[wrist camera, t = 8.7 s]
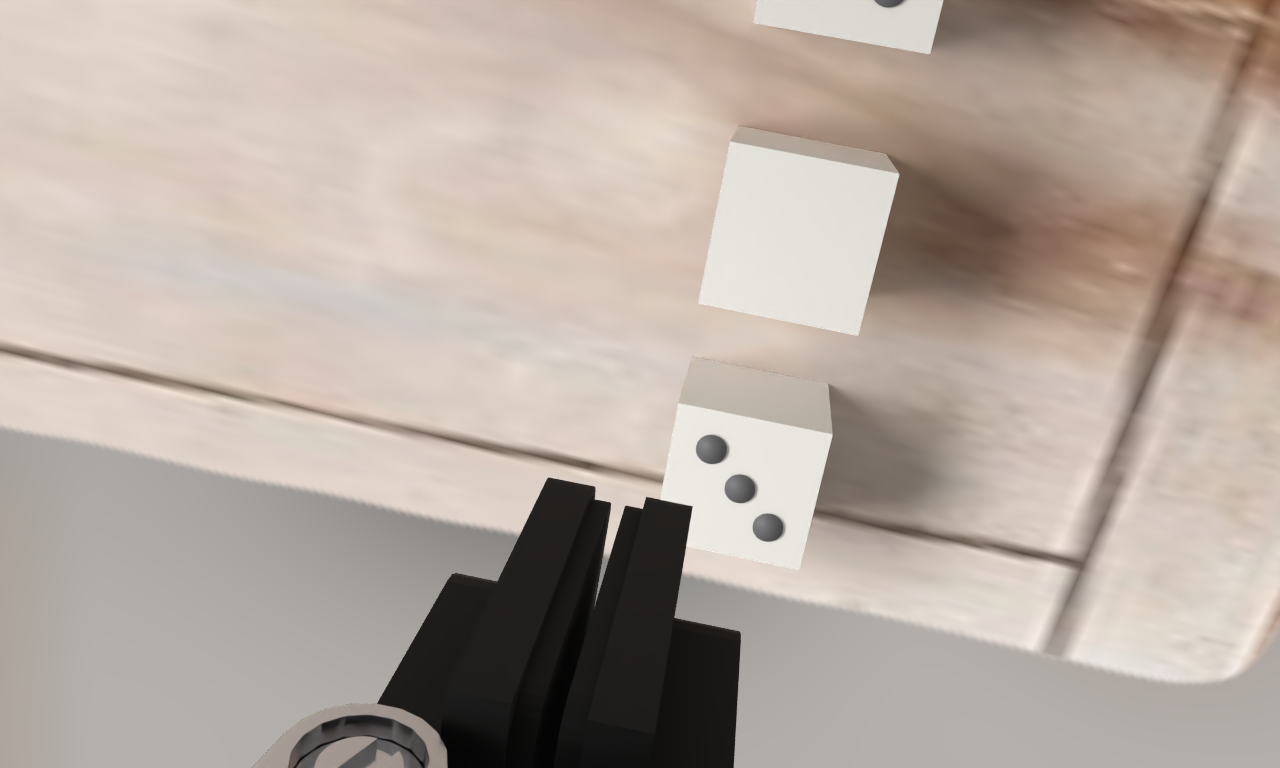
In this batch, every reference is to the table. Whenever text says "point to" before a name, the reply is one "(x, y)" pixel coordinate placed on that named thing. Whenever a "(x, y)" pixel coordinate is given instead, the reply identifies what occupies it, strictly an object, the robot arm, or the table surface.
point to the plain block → (798, 229)
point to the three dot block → (748, 460)
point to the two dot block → (858, 20)
